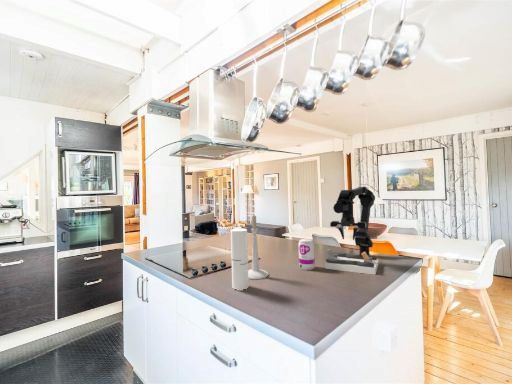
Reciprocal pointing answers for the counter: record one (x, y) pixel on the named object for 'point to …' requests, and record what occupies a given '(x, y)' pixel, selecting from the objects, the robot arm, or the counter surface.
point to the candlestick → (255, 256)
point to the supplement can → (306, 254)
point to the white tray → (352, 267)
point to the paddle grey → (330, 253)
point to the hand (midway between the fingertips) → (348, 239)
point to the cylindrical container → (239, 259)
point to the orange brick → (365, 256)
